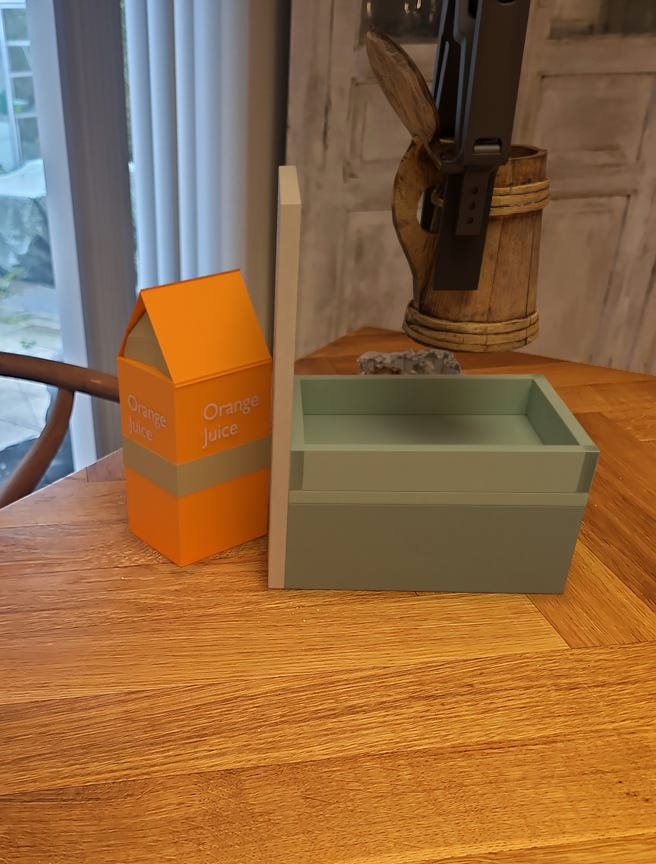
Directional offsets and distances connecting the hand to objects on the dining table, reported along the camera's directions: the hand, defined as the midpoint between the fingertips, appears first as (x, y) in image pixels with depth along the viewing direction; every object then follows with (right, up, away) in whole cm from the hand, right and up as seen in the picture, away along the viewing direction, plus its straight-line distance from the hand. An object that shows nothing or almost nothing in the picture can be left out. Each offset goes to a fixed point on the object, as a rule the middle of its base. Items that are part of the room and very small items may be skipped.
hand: (444, 273), depth 58 cm
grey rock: (+8, +4, +40) cm, 41 cm away
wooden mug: (0, -4, +2) cm, 4 cm away
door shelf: (+1, -17, +12) cm, 20 cm away
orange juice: (-16, -16, +14) cm, 27 cm away
